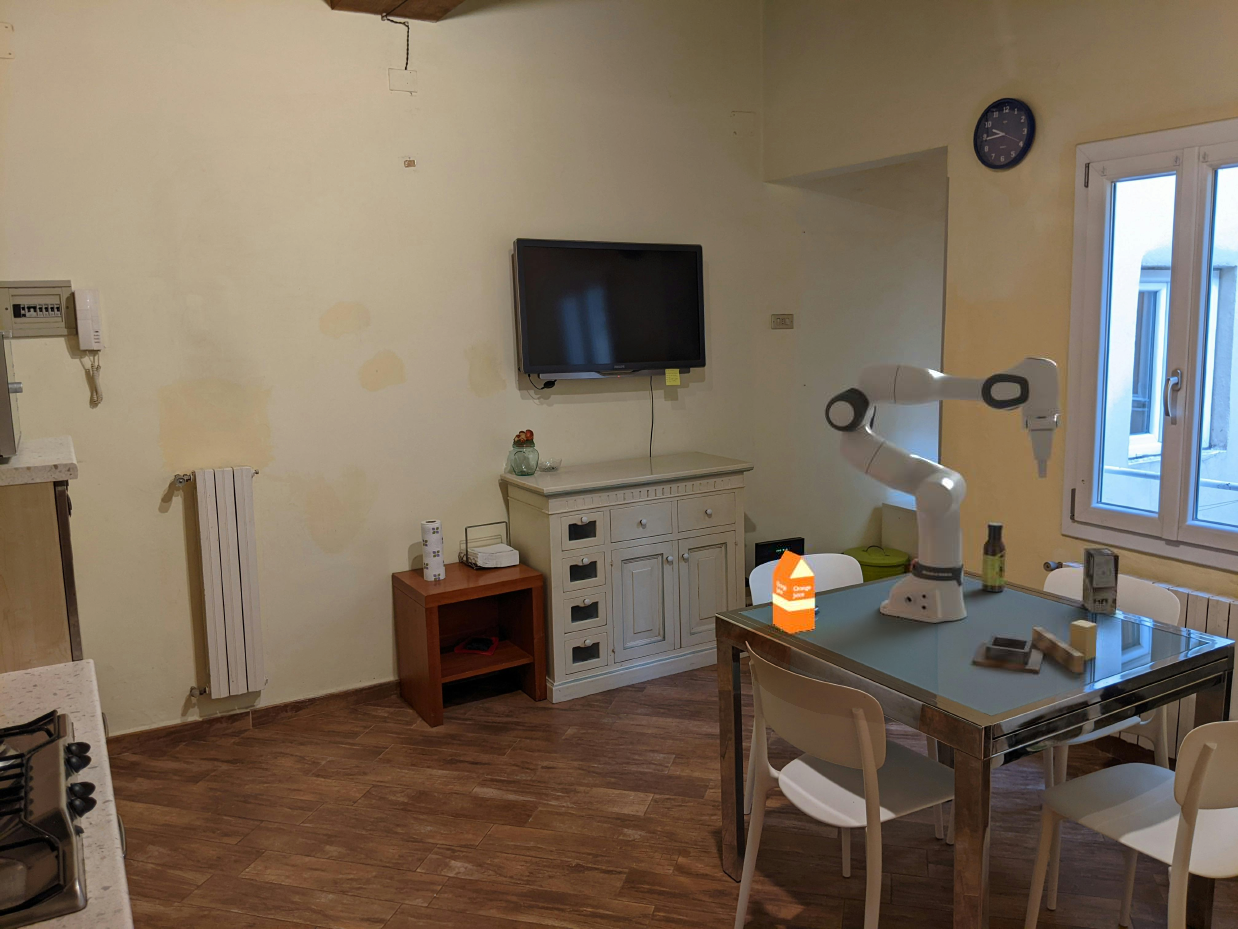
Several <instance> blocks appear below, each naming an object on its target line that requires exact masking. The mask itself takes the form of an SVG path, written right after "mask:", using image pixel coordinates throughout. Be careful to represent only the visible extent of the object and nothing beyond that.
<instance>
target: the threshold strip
mask: <svg viewBox="0 0 1238 929" xmlns="http://www.w3.org/2000/svg"><path fill="white" fill-rule="evenodd" d="M1031 629H1032V631H1031V633H1032V634H1031V640H1032V645H1034V646H1035V647H1037V648H1038V649H1039V650H1044V654H1047V655H1048V656H1050V657H1052V659H1054V660H1055V661H1057V662H1058V663H1060V664H1061V665H1063V666H1064V667H1066V668H1067V669H1068V670H1070V671H1071V672H1073V673H1074V674H1075V673H1076V674H1078V673H1079V674H1081V673H1082V674H1083V673H1084V669H1085V668H1084V665H1085V660H1084V655H1083V654H1081V653H1080V652H1078V651H1077V650H1075V649H1074V648H1072V647H1070V644H1069V645H1068V644H1067V643H1066V642H1064V641H1063V640H1061V639H1060V638H1058V637H1057V636H1055V635H1054V634H1052V633H1050V632H1049V631H1048V630H1046V629H1044V628H1043V627H1041V626H1035V627H1034V626H1032V628H1031Z"/></svg>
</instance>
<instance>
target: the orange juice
mask: <svg viewBox="0 0 1238 929" xmlns="http://www.w3.org/2000/svg"><path fill="white" fill-rule="evenodd" d="M815 576H816V575H815V574H814V573H813V571H812V569H811V568H810V567H809V565H808V564H807V562H806V561H805V559H804V558H803V557H802V556H800V555H798V554H796V553H793V552H792V551H789V550H786V549H785V551H784V553H783V554H782V555H781V558H780V559H779V561H778V562H777V564H776V566H775V567H774V569H773V570H772V624H773V625H774V624H775V625H774V626H775V627H777V628H779V629H780V630H782V629H783V630H782V631H784V632H786V633H787V632H788V633H787V634H796V633H795V632H797V633H800V632H799V631H803V632H807V631H806V630H810V631H812V630H811V629H815V628H816V627H815V618H816V617H815V616H816V615H815V613H816V612H815V609H816V598H815V592H816V591H815V590H816V589H815V588H816V587H815V585H816V584H815V583H816V582H815Z"/></svg>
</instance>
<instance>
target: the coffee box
mask: <svg viewBox="0 0 1238 929" xmlns="http://www.w3.org/2000/svg"><path fill="white" fill-rule="evenodd" d="M1119 560H1120V555H1119V554H1118V553H1116V552H1114V551H1113V550H1112V549H1110V548H1107V547H1104V548H1103V547H1092V548H1091V547H1087V548H1086V547H1085V548H1084V550H1083V567H1082V569H1083V571H1082V575H1083V576H1082V601H1081V603H1082V602H1083V603H1084V605H1085V606H1084V605H1083V606H1084V607H1085V608H1086V609H1088V611H1089V612H1091V613H1092V614H1111V615H1115V614H1117V601H1118V600H1117V599H1118V580H1119V562H1120V561H1119Z"/></svg>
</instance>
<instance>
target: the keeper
mask: <svg viewBox="0 0 1238 929" xmlns="http://www.w3.org/2000/svg"><path fill="white" fill-rule="evenodd" d="M1044 656H1045V652H1044V650H1041V649H1037V648H1036V649H1034V648H1033V643H1032V639H1026V638H1019V637H1011V636H1003V635H994V634H990V637H989V639H988V641H987V642H980V645H979V647H978V649H977V650H976V653H975V655H974V657H973V658H972V665H976V666H977V665H978V666H984V667H989V668H990V667H991V668H996V669H997V668H999V669H1005V670H1010V671H1019V672H1027V673H1034V674H1040V669H1041V667H1042V663H1043V661H1044V660H1043V659H1044Z"/></svg>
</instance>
